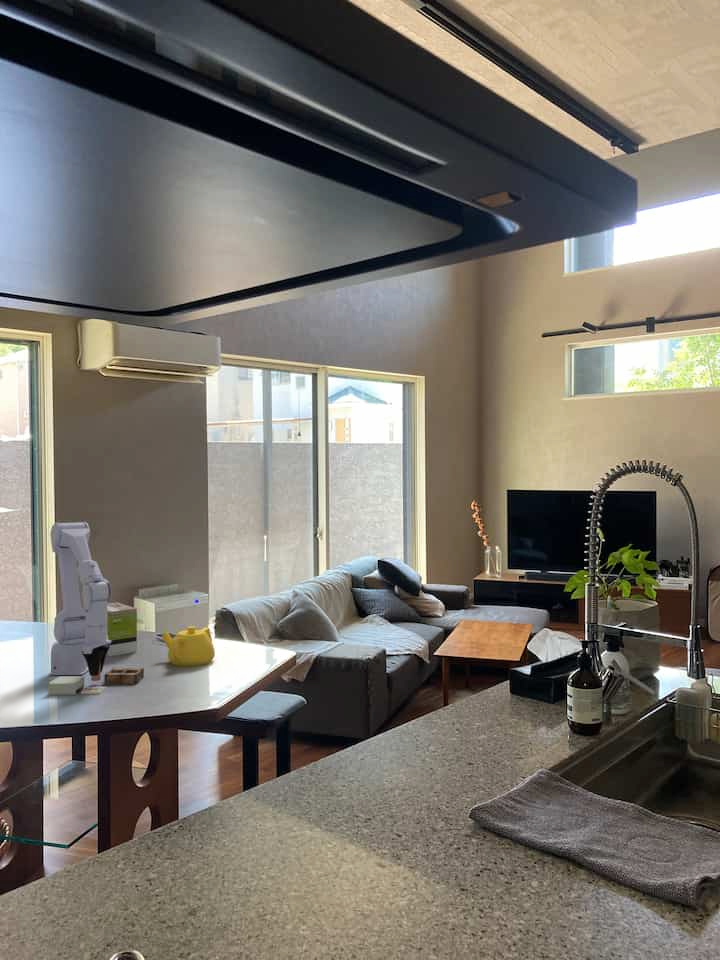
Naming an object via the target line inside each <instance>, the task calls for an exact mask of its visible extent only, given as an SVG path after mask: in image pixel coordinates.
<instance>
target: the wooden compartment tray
mask: <svg viewBox="0 0 720 960" xmlns="http://www.w3.org/2000/svg"><path fill="white" fill-rule="evenodd" d="M144 673H145V669H144V668H143V667H141V668H140V667H139V668H138V667H135V668H134V667H133V668H131V667H130V668H129V667H127V668H122V667H121V668H120V667H118V668H117V667H113V668H111V669H109V670H108V671H107V672H105V674H104V684H107V685H109V684H110V685H114V684H115V685H116V684H117V685H118V684H119V685H120V684H122V685H123V684H124V685H126V684H127V685H128V684H129V685H133V684H134V685H137V684H138V683H140V681H141V680H142V679H143V678H144V677H145V675H144Z"/></svg>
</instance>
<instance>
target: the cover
mask: <svg viewBox="0 0 720 960" xmlns="http://www.w3.org/2000/svg"><path fill="white" fill-rule="evenodd" d="M85 681H86V680H85V676H78V675H58V676H57V677H55V678H54V679H53V680H52V681H50V682H48V695H74V696H75V695H76V694H77V693H76V692H77V691H78V690H80V689H81V688H82V689H83V688H84V689H85Z"/></svg>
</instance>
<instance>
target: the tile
mask: <svg viewBox="0 0 720 960" xmlns="http://www.w3.org/2000/svg"><path fill="white" fill-rule="evenodd" d="M106 689H107V687H106V686H86V687H84V689H83V690H81V691H80V694H81V695H100V694H101V693H102V692H104V691H105V690H106Z"/></svg>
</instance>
